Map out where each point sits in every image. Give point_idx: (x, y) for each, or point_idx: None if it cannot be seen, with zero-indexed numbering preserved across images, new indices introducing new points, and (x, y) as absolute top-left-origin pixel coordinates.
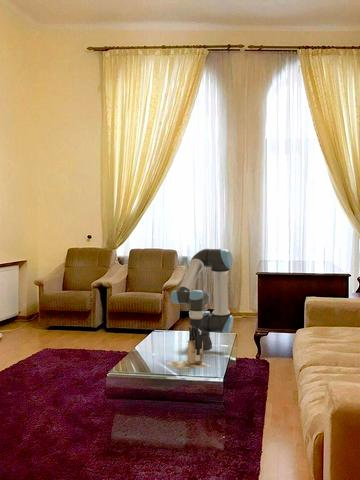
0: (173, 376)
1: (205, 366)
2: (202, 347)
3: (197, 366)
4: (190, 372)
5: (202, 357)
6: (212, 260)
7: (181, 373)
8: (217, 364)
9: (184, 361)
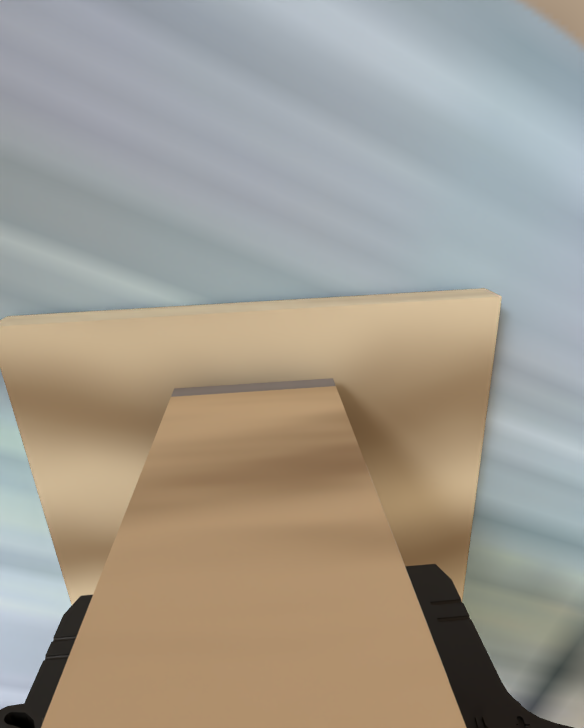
0: (565, 720)
1: (471, 375)
2: (425, 637)
3: (422, 480)
4: (516, 569)
5: (350, 432)
6: None
7: (508, 649)
8: (233, 4)
9: (90, 557)
